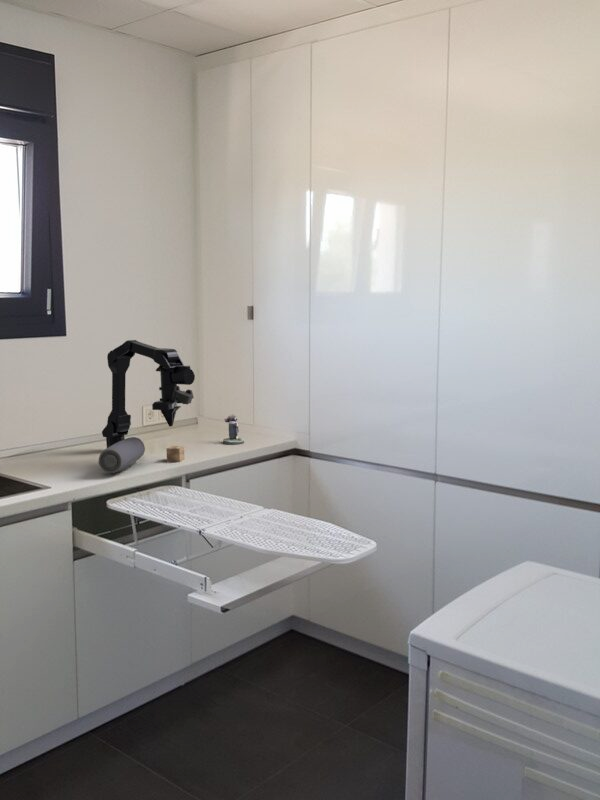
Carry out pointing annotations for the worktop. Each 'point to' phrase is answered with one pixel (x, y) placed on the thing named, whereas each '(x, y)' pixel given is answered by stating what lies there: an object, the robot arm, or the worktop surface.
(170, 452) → the letter block
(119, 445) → the bluetooth speaker
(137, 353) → the robot arm
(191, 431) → the worktop surface
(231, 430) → the figurine
